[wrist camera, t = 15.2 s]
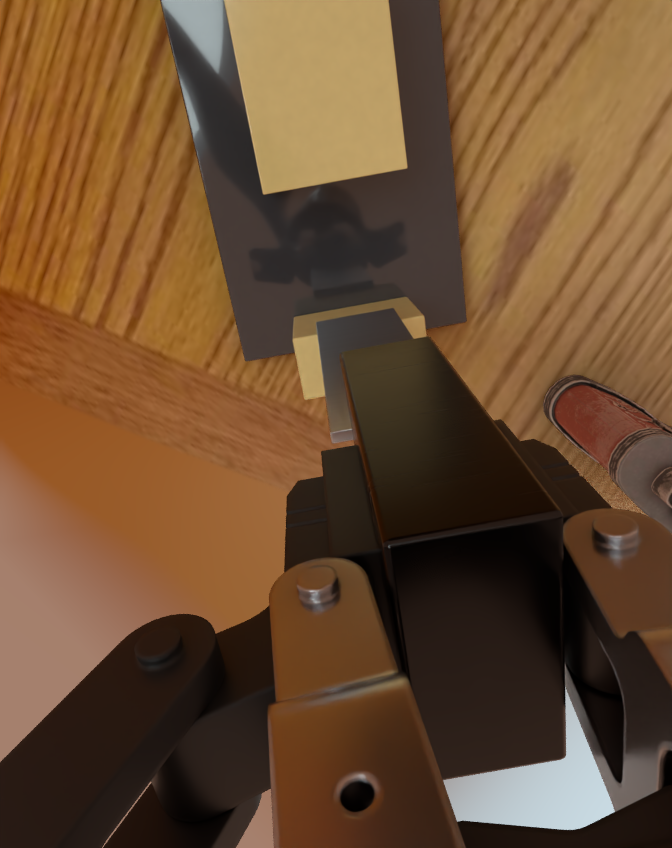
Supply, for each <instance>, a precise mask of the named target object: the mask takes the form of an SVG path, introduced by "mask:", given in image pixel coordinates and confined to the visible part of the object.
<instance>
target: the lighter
mask: <svg viewBox="0 0 672 848" xmlns="http://www.w3.org/2000/svg"><path fill="white" fill-rule="evenodd" d="M543 408H544V413H545V415H546V417H547V418H548V419H549V420H550V421H551V422H552V423H553V424H554V425H555V426H556V427H557V429H558V430H559V431H560V432H561V433H562V434H563V435H564V436H565V437H566V438H567V439H568V440H569V441H570V442H571V443H572V444H574V445H575V446H576V447H577V448H579V449H580V450H581V451H583V452H584V453H585V454H587V455H588V456H589V457H590V458H592V459H593V460H594V461H596V462H597V463H599V464H601V465H602V466H603V467H604V468H605V469H606V470H607V471H608V473H609V475H610V477H611V479H612V481H613V482H614V483H615V484H616V485H617V486H618V487H619V488H620V489H621V490H622V491H623V492H624V493H625V494H626V495H627V496H628V497H629V498H630V499H631V500H632V501H633V502H634V503H635V504H636V505H637V506H638V507H639V508H640V509H641V510H642V511H643V512H644V513H645V514H647V515H648V516H649V517H651V518H653V519H655V520H656V521H658V522H659V523H661V524H662V525H663V526H664V527H665V528H667V529H668V531H669V532H670V533H672V428H671V427H670V426H668V425H666V424H664V423H663V422H661V421H659V420H657V419H656V418H655V417H654V416H652V415H651V414H650V413H649V412H648V411H646V410H645V409H644V408H643V407H641V406H640V405H638V404H637V403H635V402H634V401H632V400H630V399H629V398H627V397H625V396H623V395H622V394H620V393H618V392H616V391H615V390H613V389H611V388H610V387H608V386H605V385H603V384H600V383H598V382H595V381H593V380H590V379H588V378H586V377H583V376H579V375H570V376H566V377H564V378H562V379H560V380H558V381H557V382H556V383H555V384H554V385H553V386H552V387H551V388H550V389H549V391H548V392H547V394H546V396H545V399H544V403H543Z"/></svg>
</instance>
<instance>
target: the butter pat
mask: <svg viewBox="0 0 672 848" xmlns="http://www.w3.org/2000/svg"><path fill="white" fill-rule="evenodd" d="M390 308H394V309H395V311H396V312H397V314H398V315H399V317H400V319H401V320H402V322H403V323H404V325H405V326H406V328H407V329H408V331H409V332H410V334H411V335H412V337H413V338H414V339H416V338H421V337H427V335H426V326H425V317H424V315H423V314H422V313H421V312H420V311H419V310H418V309H417V308H416V306H415V305H414V304H413V303H412V302H411V301H410V300H409V299H408V298H407V297H401V298H396V299H390V300H385V301H379V302H374V303H368V304H362V305H357V306H351V307H346V308H340V309H335V310H329V311H324V312H318V313H312V314H307V315H301V316H296V317H294V322H293V345H294V350H295V355H296V360H297V365H298V370H299V375H300V380H301V385H302V390H303V395H304V399H305V400H309V399H314V398H320V397H325V391H324V383H323V375H322V367H321V360H320V352H319V344H318V336H317V329H316V322H318V321H324V320H329V319H335V318H340V317H346V316H351V315H357V314H362V313H368V312H373V311H379V310H384V309H390Z"/></svg>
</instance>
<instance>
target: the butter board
mask: <svg viewBox="0 0 672 848" xmlns="http://www.w3.org/2000/svg"><path fill="white" fill-rule="evenodd" d="M160 2H161V6H162V11H163V15H164V19H165V23H166V28H167V32H168V36H169V40H170V45H171V49H172V53H173V57H174V62H175V66H176V70H177V74H178V78H179V83H180V87H181V91H182V95H183V100H184V104H185V108H186V112H187V117H188V121H189V125H190V129H191V134H192V138H193V142H194V146H195V151H196V155H197V159H198V163H199V168H200V172H201V176H202V180H203V184H204V189H205V193H206V197H207V201H208V206H209V210H210V214H211V218H212V223H213V227H214V231H215V235H216V240H217V244H218V248H219V252H220V257H221V261H222V265H223V269H224V274H225V278H226V282H227V286H228V291H229V295H230V299H231V303H232V307H233V312H234V316H235V320H236V324H237V329H238V333H239V337H240V341H241V346H242V350H243V354H244V358H245V361H252V360H257V359H263V358H269V357H274V356H280V355H285V354H291V353H295V350H294V345H293V322H294V317H296V316H301V315H307V314H312V313H318V312H324V311H329V310H335V309H340V308H346V307H351V306H357V305H362V304H368V303H374V302H379V301H385V300H390V299H396V298H401V297H407V298H408V299H409V300H410V301H411V302H412V303H413V304H414V305H415V306H416V308H417V309H418V310H419V311H420V312H421V313H422V314H423V315H424V317H425V326H426V329H430V328H436V327H442V326H447V325H453V324H458V323H464V322H466V321H467V318H466V307H465V295H464V283H463V272H462V260H461V249H460V237H459V226H458V214H457V202H456V191H455V179H454V168H453V156H452V144H451V133H450V121H449V110H448V98H447V87H446V75H445V63H444V52H443V40H442V29H441V17H440V5H439V0H160Z"/></svg>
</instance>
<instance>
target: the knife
mask: <svg viewBox="0 0 672 848" xmlns="http://www.w3.org/2000/svg"><path fill="white" fill-rule="evenodd" d="M316 329H317V336H318V344H319V352H320V360H321V367H322V375H323V383H324V391H325V398H326V406H327V414H328V422H329V430H330V436H331V441H332V443H338V442H344V441H350V440H354V445H357V449H358V454H359V458H360V463H361V467H362V472H363V477H364V481H365V486H366V490H367V495H368V499H369V504H370V509H371V513H372V518H373V522H374V527H375V531H376V536H377V541H378V545H379V550H380V556H381V562H382V568H383V574H384V580H385V585H386V591H387V597H388V603H389V609H390V615H391V621H392V627H393V633H394V639H395V645H396V651H397V657H398V663H399V669H400V671H404V672H405V674H406V676H407V678H408V680H409V683H410V686H411V689H412V691H413V694H414V697H415V700H416V703H417V706H418V709H419V712H420V715H421V718H422V721H423V724H424V727H425V730H426V733H427V735H428V738H429V741H430V744H431V747H432V750H433V753H434V756H435V759H436V762H437V765H438V768H439V771H440V774H441V776H442V779H443V780H446V779H452V778H457V777H463V776H469V775H475V774H480V773H486V772H492V771H497V770H504V769H509V768H515V767H520V766H527V765H532V764H538V763H544V762H550V761H556V760H561V759H563V758H565V756H566V720H565V632H564V548H563V513H562V511H561V510H560V508H559V507H558V506H557V504H556V503H555V502H554V500H553V499H552V498H551V496H550V495H549V494H548V492H547V491H546V490H545V488H544V487H543V486H542V484H541V483H540V482H539V480H538V479H537V478H536V477H535V475H534V474H533V473H532V471H531V470H530V469H529V467H528V466H527V465H526V463H525V462H524V461H523V459H522V458H521V457H520V455H519V454H518V453H517V451H516V450H515V449H514V447H513V446H512V445H511V443H510V442H509V441H508V439H507V438H506V437H505V435H504V434H503V433H502V431H501V430H500V429H499V427H498V426H497V425H496V423H495V422H494V421H493V419H492V418H491V417H490V416H489V414H488V413H487V412H486V410H485V409H484V408H483V406H482V405H481V404H480V402H479V401H478V400H477V398H476V397H475V396H474V394H473V393H472V392H471V390H470V389H469V388H468V386H467V385H466V384H465V382H464V381H463V380H462V378H461V377H460V376H459V374H458V373H457V372H456V370H455V369H454V368H453V366H452V365H451V364H450V362H449V361H448V360H447V358H446V357H445V356H444V355H443V353H442V352H441V351H440V349H439V348H438V347H437V345H436V344H435V343H434V341H433V340H432V339H431V337H428V336H427V337H421V338H416V339H414V338H413V337H412V335H411V334H410V332H409V331H408V329H407V328H406V326H405V325H404V323H403V322H402V320H401V319H400V317H399V315H398V314H397V312H396V311H395V309H394V308H390V309H384V310H379V311H373V312H368V313H362V314H357V315H351V316H346V317H340V318H335V319H329V320H324V321H318V322H316Z"/></svg>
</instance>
